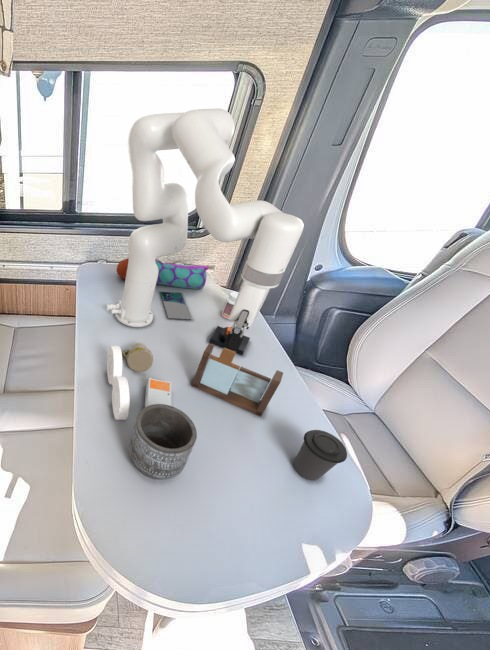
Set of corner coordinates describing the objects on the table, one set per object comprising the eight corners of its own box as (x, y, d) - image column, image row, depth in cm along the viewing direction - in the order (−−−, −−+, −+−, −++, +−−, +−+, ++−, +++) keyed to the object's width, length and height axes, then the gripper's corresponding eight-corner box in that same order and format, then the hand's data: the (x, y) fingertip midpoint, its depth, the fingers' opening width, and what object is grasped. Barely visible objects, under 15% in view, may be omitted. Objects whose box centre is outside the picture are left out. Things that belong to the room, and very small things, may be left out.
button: (224, 335, 119) (226, 330, 118) (227, 329, 122) (229, 325, 121) (236, 339, 118) (238, 335, 117) (239, 333, 120) (241, 329, 119)
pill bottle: (238, 320, 131) (246, 299, 126) (223, 319, 131) (231, 298, 126) (233, 311, 135) (241, 291, 130) (219, 311, 135) (227, 290, 130)
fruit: (121, 269, 156) (124, 251, 151) (142, 276, 152) (145, 258, 147) (111, 278, 150) (113, 260, 145) (131, 286, 146) (135, 267, 141)
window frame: (191, 385, 106) (203, 351, 99) (196, 377, 109) (208, 343, 101) (260, 416, 99) (280, 382, 91) (264, 407, 101) (283, 372, 94)
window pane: (199, 383, 105) (214, 345, 97) (200, 381, 106) (215, 343, 97) (226, 395, 102) (244, 357, 94) (227, 393, 103) (245, 355, 94)
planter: (123, 438, 92) (132, 402, 84) (175, 440, 92) (188, 404, 84) (130, 486, 82) (140, 450, 75) (187, 489, 82) (204, 453, 75)
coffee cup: (311, 492, 83) (334, 466, 77) (278, 462, 88) (297, 435, 82) (335, 477, 86) (358, 450, 80) (301, 448, 91) (321, 421, 85)
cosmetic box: (171, 381, 101) (172, 417, 92) (168, 392, 104) (168, 428, 95) (148, 376, 102) (146, 411, 93) (145, 388, 105) (143, 423, 96)
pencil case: (145, 286, 146) (150, 263, 140) (146, 274, 153) (151, 252, 147) (202, 295, 143) (210, 272, 137) (201, 282, 150) (208, 260, 144)
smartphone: (168, 317, 130) (160, 291, 143) (167, 318, 131) (159, 292, 143) (191, 319, 130) (181, 292, 143) (190, 320, 130) (180, 293, 143)
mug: (149, 351, 117) (162, 340, 108) (140, 380, 114) (152, 371, 104) (126, 341, 118) (137, 329, 109) (116, 370, 114) (126, 360, 105)
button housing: (208, 342, 121) (212, 333, 119) (216, 329, 127) (219, 321, 124) (242, 355, 117) (246, 346, 115) (248, 341, 122) (252, 333, 120)
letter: (105, 365, 112) (110, 338, 106) (113, 365, 112) (118, 338, 106) (115, 428, 94) (122, 400, 88) (124, 428, 94) (131, 400, 88)
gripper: (252, 253, 90) (229, 314, 100) (233, 284, 78) (209, 349, 89) (288, 263, 86) (260, 324, 97) (273, 297, 75) (244, 363, 85)
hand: (236, 336), depth 93 cm, fingers open, 9 cm apart
